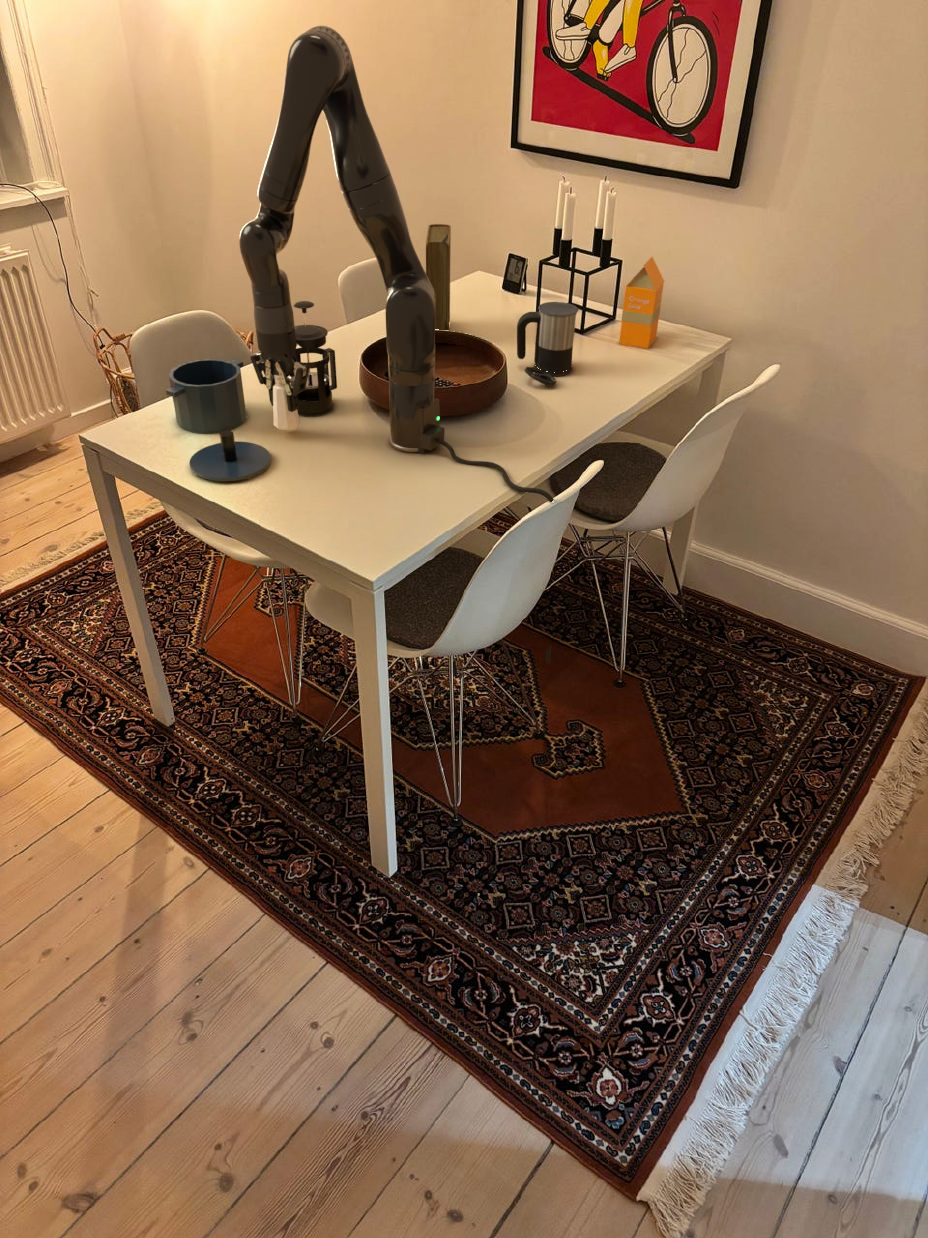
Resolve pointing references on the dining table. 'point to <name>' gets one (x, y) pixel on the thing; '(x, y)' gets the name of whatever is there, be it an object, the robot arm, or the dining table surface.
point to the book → (439, 271)
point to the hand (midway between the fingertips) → (284, 407)
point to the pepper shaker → (282, 407)
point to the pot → (208, 395)
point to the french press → (316, 381)
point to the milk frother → (549, 340)
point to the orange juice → (642, 307)
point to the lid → (230, 459)
